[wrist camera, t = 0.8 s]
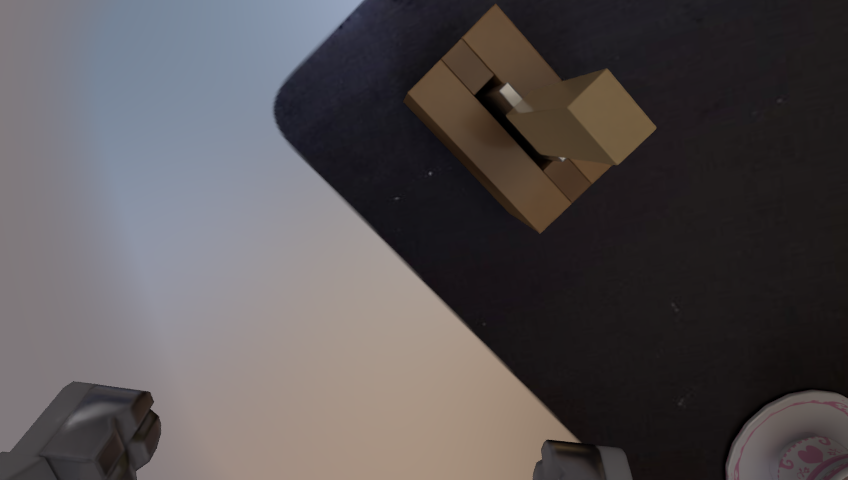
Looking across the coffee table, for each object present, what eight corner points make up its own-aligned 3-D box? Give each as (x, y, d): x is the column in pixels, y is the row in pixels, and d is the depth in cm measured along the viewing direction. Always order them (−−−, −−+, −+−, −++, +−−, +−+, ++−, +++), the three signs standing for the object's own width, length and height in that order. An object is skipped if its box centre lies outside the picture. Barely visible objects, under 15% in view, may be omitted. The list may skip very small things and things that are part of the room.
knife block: (402, 101, 32) (407, 93, 25) (472, 30, 32) (495, 2, 25) (509, 213, 34) (540, 233, 27) (576, 148, 33) (625, 153, 27)
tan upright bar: (458, 109, 32) (544, 81, 15) (477, 90, 32) (585, 40, 15) (505, 159, 33) (638, 189, 16) (523, 141, 33) (678, 152, 16)
